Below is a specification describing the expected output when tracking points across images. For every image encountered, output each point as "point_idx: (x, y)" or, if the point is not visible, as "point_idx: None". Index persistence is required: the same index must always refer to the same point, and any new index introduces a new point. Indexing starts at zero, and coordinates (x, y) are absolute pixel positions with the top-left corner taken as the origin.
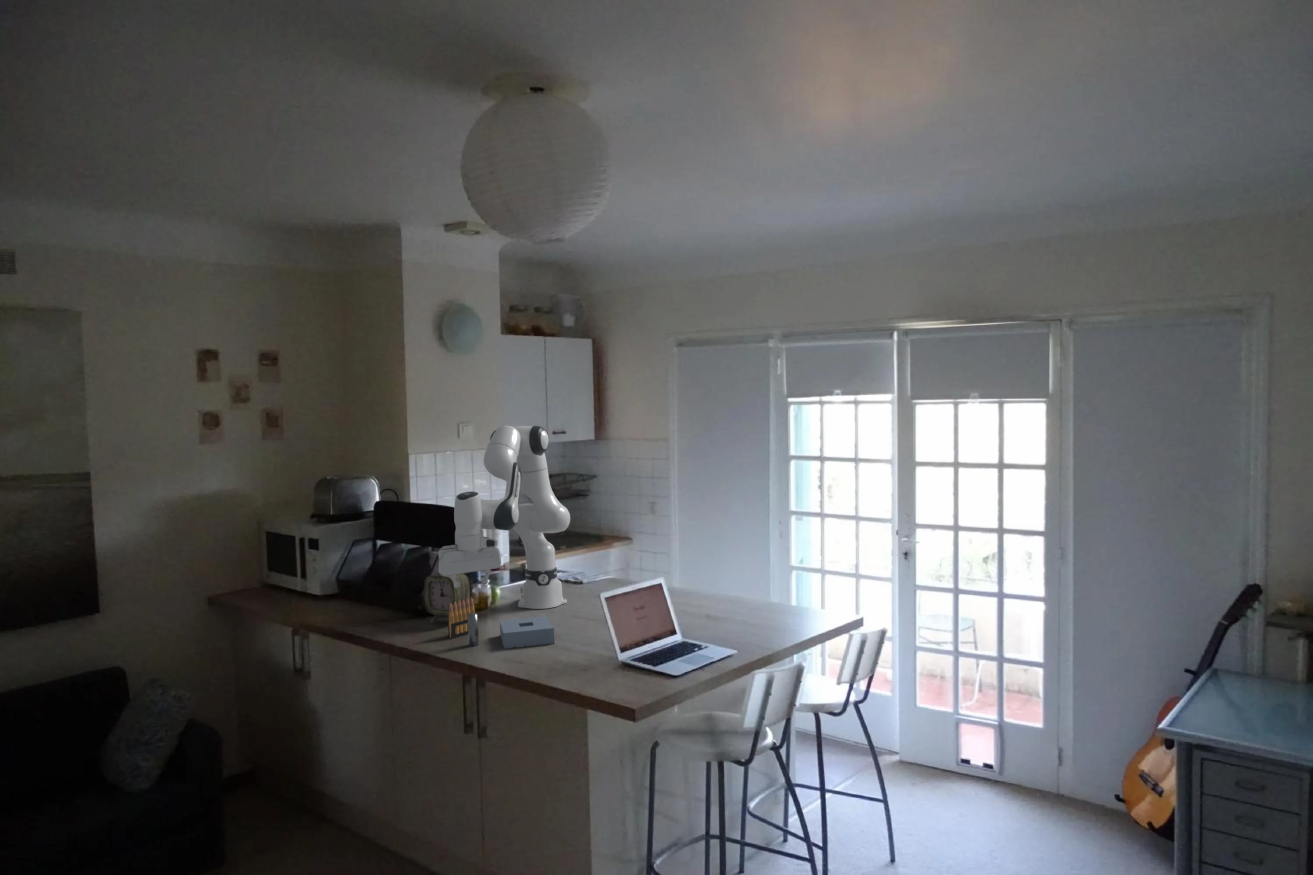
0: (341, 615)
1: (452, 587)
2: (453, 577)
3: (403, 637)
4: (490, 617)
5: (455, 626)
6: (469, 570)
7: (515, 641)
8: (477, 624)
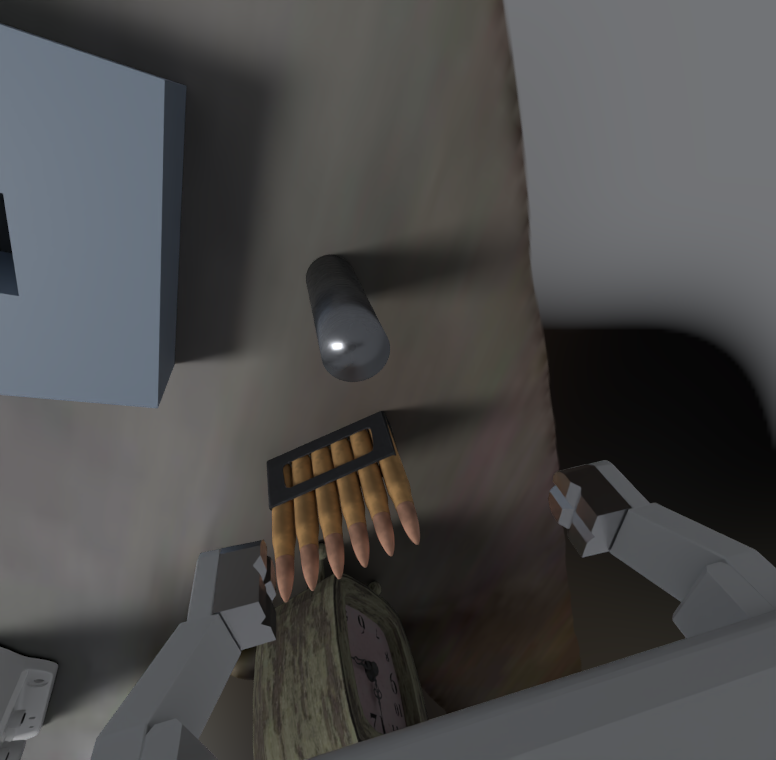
0: (513, 657)
1: (351, 694)
2: (750, 561)
3: (498, 486)
4: (181, 591)
5: (373, 449)
6: (587, 718)
7: (83, 51)
8: (322, 304)
